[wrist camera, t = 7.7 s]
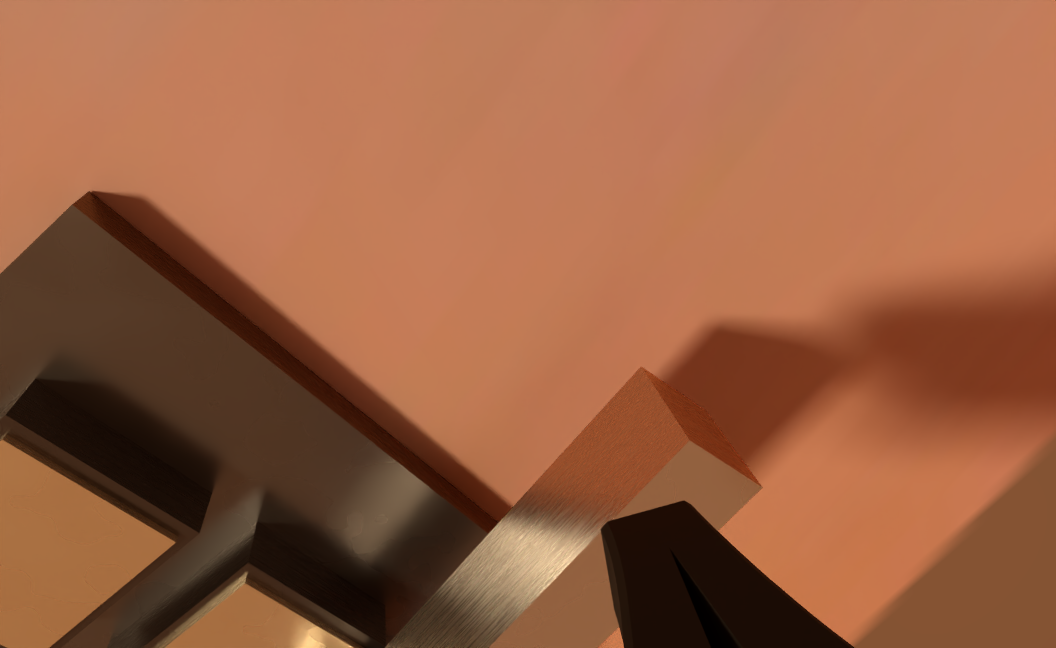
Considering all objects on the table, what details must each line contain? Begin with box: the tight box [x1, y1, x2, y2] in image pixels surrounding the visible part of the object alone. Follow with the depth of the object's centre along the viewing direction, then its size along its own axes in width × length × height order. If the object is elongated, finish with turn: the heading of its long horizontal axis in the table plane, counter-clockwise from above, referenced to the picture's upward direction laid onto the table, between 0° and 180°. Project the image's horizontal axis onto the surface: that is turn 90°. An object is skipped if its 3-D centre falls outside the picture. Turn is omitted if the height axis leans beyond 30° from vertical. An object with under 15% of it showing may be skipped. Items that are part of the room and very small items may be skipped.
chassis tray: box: [0, 191, 498, 648], centre depth 19 cm, size 17×14×3 cm
